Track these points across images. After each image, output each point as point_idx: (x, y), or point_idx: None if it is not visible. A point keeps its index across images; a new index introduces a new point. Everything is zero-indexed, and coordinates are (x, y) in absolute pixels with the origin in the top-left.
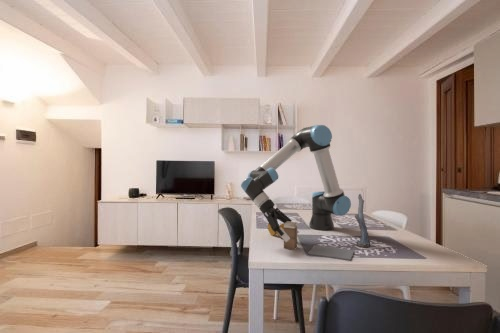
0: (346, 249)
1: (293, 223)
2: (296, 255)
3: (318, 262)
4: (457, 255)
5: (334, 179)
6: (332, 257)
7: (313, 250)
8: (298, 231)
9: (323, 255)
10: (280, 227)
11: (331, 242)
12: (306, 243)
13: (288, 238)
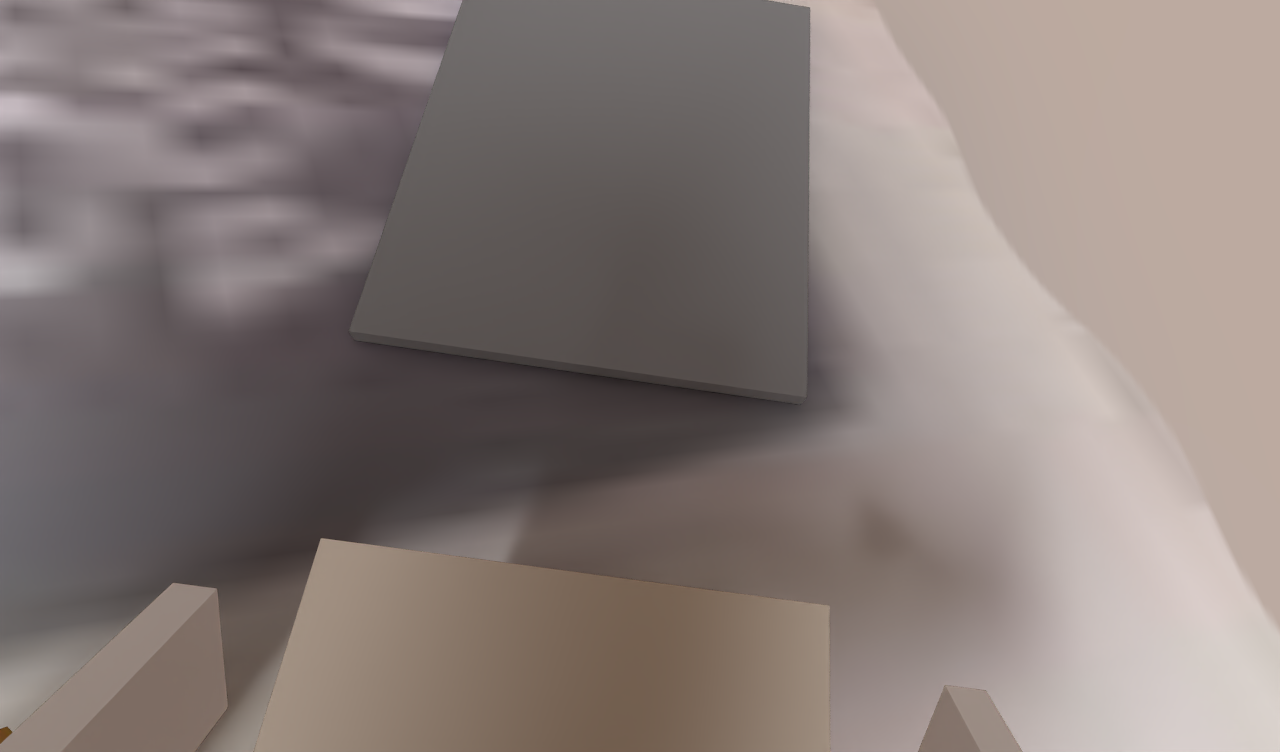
0: (476, 8)
1: (671, 672)
2: (924, 550)
3: (1019, 270)
4: None
5: None
6: (806, 143)
7: (659, 335)
8: (170, 600)
9: (808, 219)
10: None
11: (97, 144)
12: (203, 489)
13: (991, 734)
